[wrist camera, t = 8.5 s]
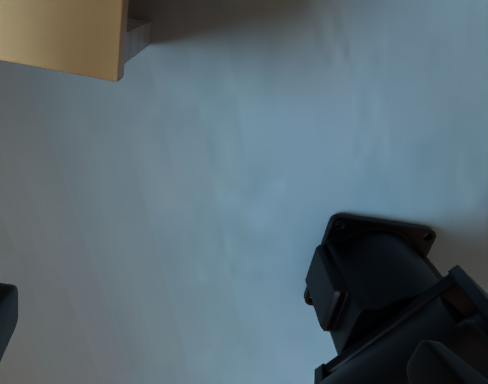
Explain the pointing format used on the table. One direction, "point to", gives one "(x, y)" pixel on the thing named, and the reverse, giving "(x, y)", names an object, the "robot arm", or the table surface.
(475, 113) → the table surface
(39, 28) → the toy desk
